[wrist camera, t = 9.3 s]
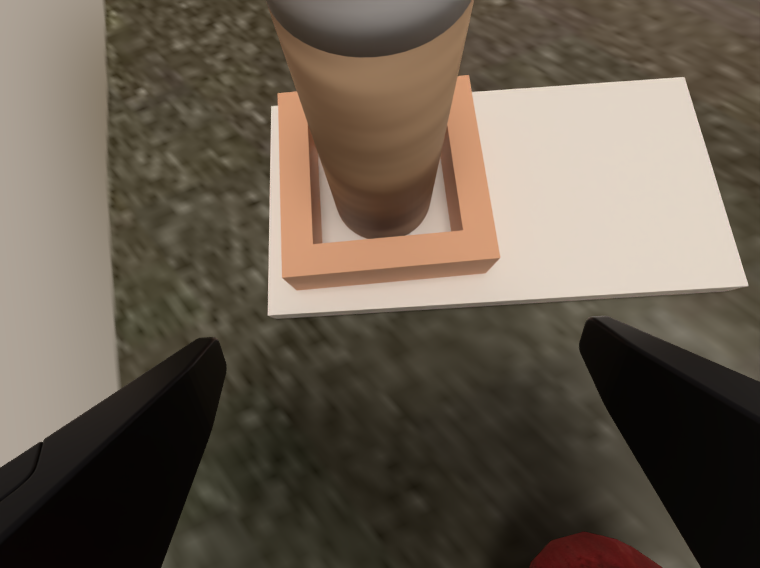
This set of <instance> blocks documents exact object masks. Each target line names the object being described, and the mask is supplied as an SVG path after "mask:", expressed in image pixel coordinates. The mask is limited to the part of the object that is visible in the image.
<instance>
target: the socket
mask: <svg viewBox="0 0 760 568" xmlns="http://www.w3.org/2000/svg"><path fill="white" fill-rule="evenodd" d="M278 123H279V168H280V214H281V260H282V278H283V279H284V280H285V281H286V282H287V283H289V284H290V285H291V286H292V287H293V288H294V289H295V290H308V289H319V288H330V287H341V286H352V285H363V284H374V283H385V282H396V281H407V280H418V279H429V278H440V277H451V276H462V275H473V274H484V273H486V272H487V271H488V270H489V269H490V268H491V267H492V266H493V265H494V264H495V263H496V262H497V261H498V260H499V259H500V252H499V247H498V241H497V235H496V229H495V223H494V218H493V212H492V206H491V200H490V195H489V189H488V183H487V177H486V171H485V166H484V160H483V154H482V148H481V143H480V137H479V131H478V125H477V120H476V114H475V108H474V102H473V96H472V91H471V85H470V79H469V75H465V76H458V77H457V81H456V86H455V91H454V95H453V100H452V104H451V109H450V114H449V118H448V123H447V128H446V132H445V137H444V142H443V146H442V151H441V156H440V157H441V164H442V171H443V178H444V185H445V192H446V199H447V206H448V213H449V220H450V227H451V231H450V232H439V233H429V234H418V235H407V236H396V237H385V238H374V239H363V240H352V241H341V242H331V243H322V225H321V205H320V185H319V166H318V152H317V149H316V146H315V143H314V140H313V137H312V134H311V131H310V128H309V126H308V123H307V120H306V117H305V114H304V111H303V108H302V105H301V102H300V99H299V96H298V93H297V92H288V93H278Z"/></svg>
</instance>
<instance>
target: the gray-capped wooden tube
mask: <svg viewBox="0 0 760 568" xmlns="http://www.w3.org/2000/svg"><path fill="white" fill-rule="evenodd" d="M266 2H267V5H268V8H269V11H270V14H271V17H272V20H273V23H274V26H275V29H276V32H277V35H278V37H279V40H280V43H281V46H282V49H283V52H284V55H285V58H286V61H287V64H288V67H289V70H290V73H291V76H292V79H293V81H294V84H295V87H296V90H297V93H298V96H299V99H300V102H301V105H302V108H303V111H304V114H305V117H306V120H307V123H308V126H309V128H310V131H311V134H312V137H313V140H314V143H315V146H316V149H317V152H318V155H319V158H320V161H321V164H322V167H323V170H324V173H325V175H326V178H327V181H328V184H329V187H330V190H331V193H332V196H333V199H334V202H335V205H336V208H337V211H338V213H339V216H340V217H341V219H342V221H343V222H344V223H345V225H346V226H347V227H348V228H349V229H350V230H352V231H353V232H354V233H356V234H357V235H359V236H361V237H364V238H366V239H374V238H385V237H396V236H406V235H407V234H409V233H411V232H412V231H414V230H415V229H416V228H417V227H418V226H419V225H420V224H421V223H422V221H423V220H424V218H425V217H426V215H427V212H428V210H429V206H430V202H431V197H432V193H433V188H434V184H435V179H436V174H437V170H438V165H439V160H440V156H441V151H442V146H443V142H444V137H445V132H446V128H447V123H448V118H449V114H450V109H451V104H452V100H453V95H454V91H455V86H456V81H457V77H458V72H459V67H460V63H461V58H462V53H463V49H464V44H465V39H466V35H467V30H468V25H469V21H470V16H471V11H472V7H473V2H474V0H266Z"/></svg>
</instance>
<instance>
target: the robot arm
mask: <svg viewBox="0 0 760 568" xmlns="http://www.w3.org/2000/svg"><path fill="white" fill-rule="evenodd" d="M579 350H580V353H581V355H582V358H583V360H584V362H585V364H586V366H587V368H588V371H589V373H590V375H591V377H592V379H593V381H594V384H595V386H596V388H597V390H598V392H599V394H600V397H601V399H602V401H603V403H604V405H605V407H606V409H607V410H608V412H609V414H610V416H611V417H612V419H613V421H614V422H615V424H616V426H617V427H618V429H619V431H620V433H621V434H622V436H623V438H624V439H625V441H626V443H627V444H628V446H629V448H630V449H631V451H632V453H633V454H634V456H635V458H636V459H637V461H638V463H639V464H640V466H641V468H642V469H643V471H644V473H645V474H646V476H647V478H648V480H649V481H650V483H651V485H652V486H653V488H654V490H655V491H656V493H657V495H658V496H659V498H660V500H661V501H662V503H663V505H664V506H665V508H666V510H667V511H668V513H669V515H670V516H671V518H672V520H673V521H674V523H675V525H676V526H677V528H678V530H679V532H680V533H681V535H682V537H683V538H684V540H685V542H686V543H687V545H688V547H689V548H690V550H691V552H692V553H693V555H694V557H695V558H696V560H697V562H698V563H699V565H700V567H701V568H760V382H759V381H756V380H754V379H752V378H749V377H747V376H745V375H743V374H740V373H738V372H736V371H733V370H731V369H729V368H726V367H724V366H722V365H719V364H717V363H715V362H712V361H710V360H708V359H706V358H703V357H701V356H699V355H696V354H694V353H692V352H689V351H687V350H685V349H682V348H680V347H678V346H675V345H673V344H671V343H669V342H666V341H664V340H662V339H659V338H657V337H655V336H652V335H650V334H648V333H645V332H643V331H641V330H638V329H636V328H634V327H632V326H629V325H627V324H625V323H622V322H620V321H618V320H615V319H613V318H611V317H608V316H593V317H589V318H588V319H587V320H586V322H585V326H584V329H583V332H582V336H581V339H580V343H579ZM225 375H226V361H225V358H224V355H223V352H222V349H221V346H220V343H219V341H218V339H217V338H215V337H207V338H198V339H196V340H195V341H193V342H191V343H190V344H188V345H187V346H185V347H184V348H182V349H181V350H179V351H178V352H176V353H175V354H173V355H172V356H170V357H169V358H167V359H166V360H164V361H163V362H161V363H159V364H158V365H156V366H155V367H153V368H152V369H150V370H149V371H147V372H146V373H144V374H143V375H141V376H140V377H138V378H137V379H135V380H134V381H132V382H131V383H129V384H127V385H126V386H124V387H123V388H121V389H120V390H118V391H117V392H115V393H114V394H112V395H111V396H109V397H108V398H106V399H105V400H103V401H102V402H100V403H98V404H97V405H96V406H94V407H92V408H91V409H89V410H88V411H86V412H85V413H83V414H82V415H80V416H79V417H77V418H76V419H74V420H73V421H71V422H70V423H68V424H66V425H65V426H63V427H62V428H61V429H59V430H57V431H56V432H54V433H53V434H51V435H50V436H49V437H47V438H45V439H44V441H43V442H39V443H37V444H36V445H34V446H33V447H31V448H30V449H28V450H27V451H25V452H24V453H22V454H21V455H19V456H18V457H16V458H15V459H13V460H11V461H10V462H8V463H7V464H5V465H4V466H2V467H0V568H161V566H162V564H163V561H164V558H165V556H166V553H167V550H168V547H169V545H170V542H171V539H172V537H173V534H174V531H175V529H176V526H177V523H178V520H179V518H180V515H181V512H182V510H183V507H184V504H185V502H186V499H187V496H188V493H189V491H190V488H191V485H192V483H193V480H194V477H195V475H196V472H197V469H198V466H199V464H200V461H201V458H202V456H203V453H204V450H205V448H206V445H207V442H208V439H209V436H210V434H211V431H212V427H213V423H214V420H215V416H216V412H217V408H218V404H219V400H220V395H221V391H222V387H223V383H224V379H225Z"/></svg>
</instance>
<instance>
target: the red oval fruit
mask: <svg viewBox="0 0 760 568" xmlns="http://www.w3.org/2000/svg"><path fill="white" fill-rule="evenodd" d="M529 568H662V567H661V566H659V565H658V564H657V563H655V562H654V561H652V560H651V559H649V558H648V557H646V556H645V555H643V554H642V553H640V552H639V551H637V550H636V549H634V548H633V547H631V546H629V545H627V544H625V543H623V542H621V541H619V540H617V539H613V538H609V537H605V536H601V535H597V534H593V533H588V532H580V533H577V534H573V535H569V536H566V537H562V538H558V539H554V540H552V541H550V542H549V543H548V544H547V545H546V546H545V548H544V549H543V550H542V551H541V552H540V553H539V554H538V555H537V556H536V557H535V558H534V559H533V560H532V561H531V564H530V567H529Z"/></svg>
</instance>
